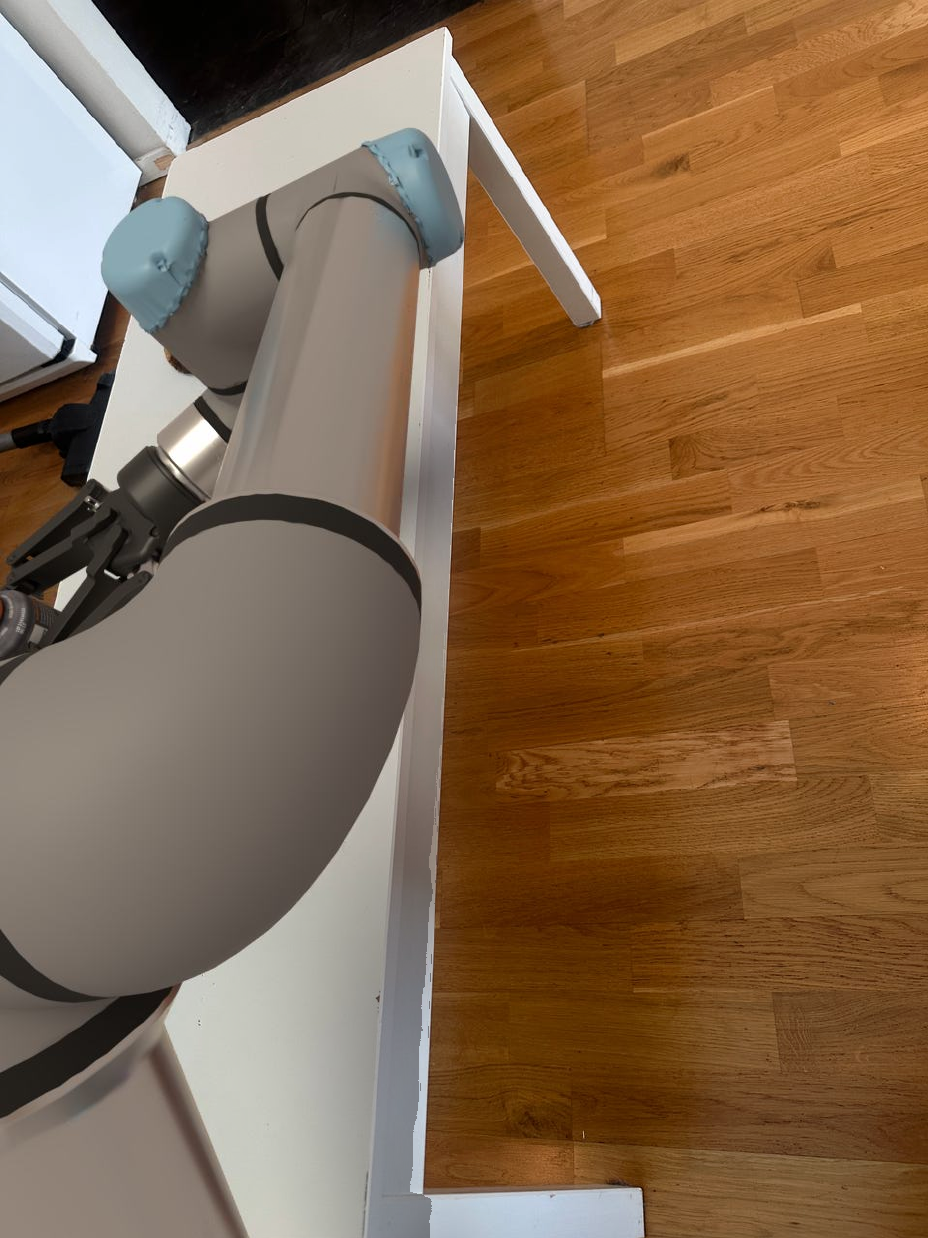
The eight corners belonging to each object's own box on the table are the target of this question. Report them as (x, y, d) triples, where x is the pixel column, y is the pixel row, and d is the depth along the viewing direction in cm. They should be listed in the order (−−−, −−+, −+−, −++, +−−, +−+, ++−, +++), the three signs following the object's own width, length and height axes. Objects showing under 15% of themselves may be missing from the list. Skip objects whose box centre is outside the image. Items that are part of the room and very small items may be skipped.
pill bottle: (59, 643, 73) (-60, 588, 64) (113, 621, 72) (-1, 561, 62) (54, 706, 70) (-71, 658, 61) (110, 684, 69) (-9, 632, 59)
